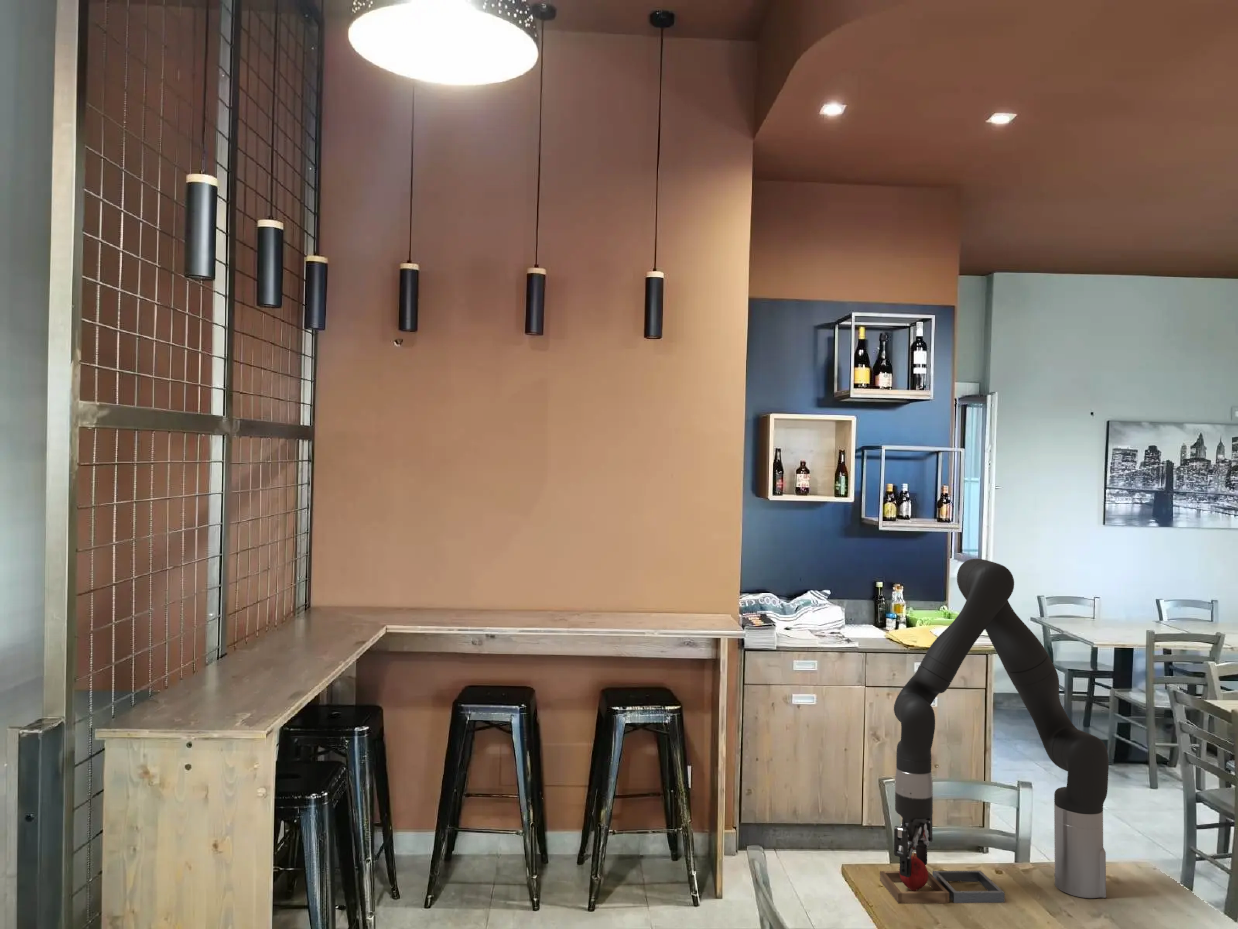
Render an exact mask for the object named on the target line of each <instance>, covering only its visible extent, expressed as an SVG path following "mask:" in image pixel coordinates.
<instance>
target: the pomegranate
mask: <svg viewBox="0 0 1238 929" xmlns="http://www.w3.org/2000/svg"><path fill="white" fill-rule="evenodd" d="M898 871H899V874H900V867H899V869H898ZM928 871H929V870H928V868H927V865H925V864H924V863H923V862H922V861H921V860H920V859H919V858H917V856H916V852H915V851H913V852H912V857H911V876H910V877H905V876H902V875H901V874H900V879H901V881H902V882H901V883H902V884H903V885H904V886H905V887H906V888H907V889H909V890H910V891H920V890H922V888H924V887H925V886H926V885H927V881H928Z"/></svg>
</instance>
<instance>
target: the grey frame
mask: <svg viewBox="0 0 1238 929" xmlns="http://www.w3.org/2000/svg"><path fill="white" fill-rule="evenodd" d="M932 876H933V877H934V878H935V879H936V880H937V881H938V882H939V883H940V884H941V885H942V886H943V887H944V888H945V889H946V890H947V891H948V892H949V900H951V901H952V903H953V904H962V903H963V904H970V903H971V904H972V903H975V904H976V903H980V904H981V903H982V904H984V903H985V904H987V903H992V904H993V903H1001V904H1002V903H1005V902H1006V901H1005V895H1006V894H1005V892H1004V891H1003V889H1001V887H999V886H998V885H997V884H996V883H994V882H993V880H992V879H991V878H989V877H988V876H987V875H986V874H985V873H984V872H983V871H981V870H932ZM947 881H959V882H960V881H962V883H964V882H972V883H973V882H976V883H980V885H981V886H982V887H984V888H985V889H986V890H956V889H955V888H954V887H953V886H952V885H951V884H950V882H947ZM959 882H958V883H959ZM960 883H961V882H960Z"/></svg>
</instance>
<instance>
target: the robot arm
mask: <svg viewBox="0 0 1238 929" xmlns="http://www.w3.org/2000/svg"><path fill="white" fill-rule="evenodd" d="M958 568H959V569H958V570H957V573H956V574H957V575H956V582H957V583H956V584H957V586H958V589H959V591H960V593H961V595H962V596H963V597H964V599H965V603H964V605H963V607H962V608H961V610H960V612H959V614H958V615H957V616H956V617H955V619H954V620H953V621H952V623H950V624H949V626H947V628H946V629H945V630H944V631H943V632H942V633H940V634H939V635H938V636H937V637H936V638H935V640H934V641H933V642H931V645H930V646H929V648H928V650H927V651H926V653H925V654H924V656H923V658H922V661H921V662H920V663H919V665H918V668H917V670H916V671H915V673H914V674H913V676H912V677H910V679H909V680H908V681H907V683H906V684H905V685H904V686H903V688H902V689H900V691H899V693H898V694H897V697H896V698H895V701H894V704H893V705H894V706H893V713H894V715H895V718H896V719H897V721H899V722H900V728H901V729H900V740H899V741H898V743H897V744H896V762H895V763H896V764H895V765H896V769H895V775H894V776H895V778H894V779H895V781H894V796H895V797H894V809H895V812H896V813H897V815H899V816H900V817H901V818H902V819H901V823H900V826H897V825H895V826H894V829H893V830H894V831H893V840H894V841H893V855H894V856H895V857H899V868H900V874H901V875H902V876H905V877H910V876H911V857H912V853H913V852H914V850H915V853H916V856H917V858H919V859H920V860H921V861H922V862H923V863H924V864H925V866H927V865H928V847H929V846H930V843H931V842H932V841H933V814H934V811H933V808H934V805H933V803H934V802H933V801H934V800H933V799H934V798H933V795H934V793H933V792H934V785H933V783H934V782H933V774H932V747H933V742H934V737H935V731H936V716H935V715H936V714H935V711H934V709H933V707H932V704H933V702H934V701H935V700H936V698H937V696H938V695H939V694H944V693H945V692H946V691H947V689H949V687H950V685H951V683H952V682H953V680H954V679H955V676H956V674H957V672H958V671H959V669H960V667H961V665H962V664H963V662H964V660H965V659H966V658H967V655H968V653H969V652H970V651H971V649H972V648H973V646H974V644H975V643H976V642H977V640H978V639H979V638H980V636H981V635H982V634H983V632H984V631H985V632H986V634H987V636H988V639H989V640H990V642H991V644H992V646H993V649H994V650H995V653H996V654H997V656H998V658H999V660H1000V662H1001V664H1002V666H1003V668H1004V670H1005V672H1006V674H1007V675H1008V677H1009V679H1010V681H1011V683H1012V685H1013V687H1014V688H1015V689H1016V691H1017V693H1018V695H1019V696H1020V698H1021V700H1022V703H1023V704H1024V706H1025V708H1026V709H1027V712H1028V714H1029V715H1030V717H1031V719H1032V720H1033V723H1034V725H1035V727H1036V730H1037V734H1038V735H1039V738H1040V740H1041V742H1042V746H1043V748H1044V750H1045V752H1046V754H1047V756H1048V758H1049V759H1050V761H1051V762H1052V763H1053V764H1054V765H1055V766H1056V767H1058V768H1059V769H1062V770H1064V771H1066V772H1067V778H1066V786H1061V787H1058V788H1056V789H1055V790H1054V794H1053V795H1054V797H1053V800H1054V802H1053V803H1054V805H1053V806H1054V808H1053V810H1054V817H1053V818H1054V825H1053V826H1054V829H1053V830H1054V835H1053V836H1054V837H1053V838H1054V875H1053V876H1054V885H1055V887H1056V888H1057V889H1058V890H1060V891H1062V892H1064V893H1066V894H1068V895H1071V896H1074V897H1078V898H1084V899H1096V898H1104V899H1106V898H1107V863H1106V862H1107V856H1106V855H1107V853H1106V852H1107V851H1106V850H1105V847H1104V803H1105V801H1106V798H1107V796H1108V787H1109V770H1110V769H1109V764H1110V763H1109V761H1110V759H1109V752H1108V750H1107V747H1106V744H1105V743H1104V741H1102V739H1101V738H1099V737H1097V735H1096V736H1095V735H1093V734H1090V733H1088V732H1086V731H1083V730H1080V729H1078V728H1077V727H1076V726H1075V725H1074V723H1073V722H1072V721H1071V719H1070V718H1069V715H1068V714H1067V712H1066V710H1065V709H1064V707H1063V705H1062V703H1061V699H1060V679H1059V678H1060V677H1059V673H1058V671H1057V669H1056V667H1055V665H1054V663H1053V661H1052V659H1051V657H1050V655H1049V653H1048V651H1047V650H1046V648H1045V647H1044V645H1043V643H1042V642H1041V640H1039V638H1038V637H1037V636H1036V635H1035V634H1034V632H1033V631H1032V629H1030V628H1029V627H1028V626H1027V624H1025V623H1024V622H1023V620H1022V619H1021V618H1020V617H1019V616H1018V614H1017V613H1016V612H1015V610H1014V609H1013V607H1012V605H1011V604H1010V602H1009V599H1010V597H1011V596H1012V594H1013V592H1014V589H1015V579H1014V575H1013V574H1012V572H1011V570H1010V569H1009V568H1007V566H1004V565H1003V564H1000V563H998V562H994V561H991V560H988V559H983V558H971V559H967V560H965V561H964V562H963V563H962V564H961V565H960V566H959V567H958Z"/></svg>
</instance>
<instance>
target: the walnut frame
mask: <svg viewBox="0 0 1238 929" xmlns="http://www.w3.org/2000/svg"><path fill="white" fill-rule="evenodd" d="M879 882H880V883H881V884H882V885H883V887H884V888H885V889H886V890H887V892H888V893H889V894H890V895H891V896H892V898H893V899H894V900H895V902H897V904H950V898H949V892H948V891H947V890H946V889H945V888H944V887H943V886H942V885H941V884H940V883H939V882H938V881H937V880H936V879H935V878H934V877H933V873H932V872H930V871H929V870H928V881H927V883H928V884H927V883H926V884H927V885H928V886H929V887H930V886H931V887H930V888H931V889H932V891H931V890H930V891H925V890H924V891H923V890H922V891H921V890H917V891H911V890H910V891H909V890H908V891H901V890H900V889H899V888H898V886H897V885H896V884H895V883H903V882H902V881H901V879H900V874H899V870H887V871H886V870H885V871H884V870H880V871H879Z"/></svg>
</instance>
